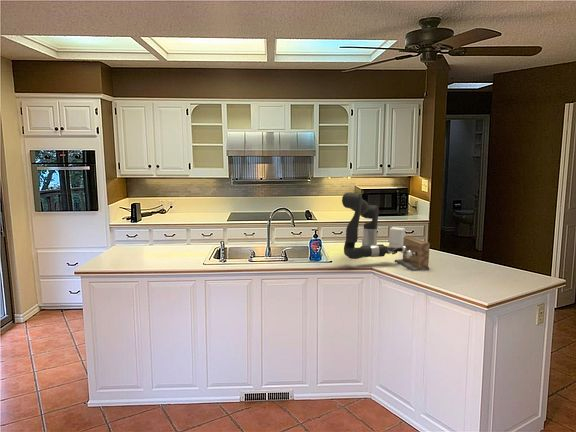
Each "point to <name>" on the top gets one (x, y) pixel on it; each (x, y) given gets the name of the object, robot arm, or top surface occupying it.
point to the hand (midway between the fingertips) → (401, 249)
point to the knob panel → (417, 260)
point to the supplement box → (396, 237)
